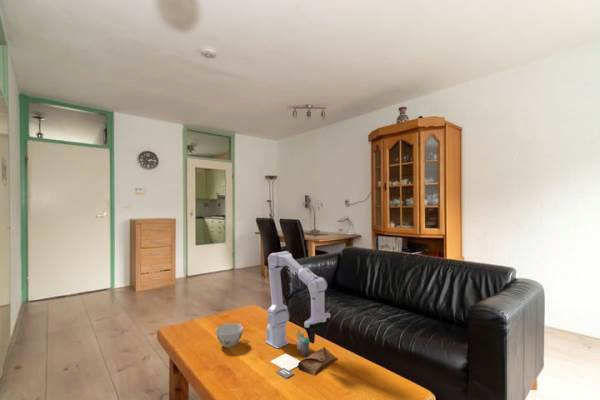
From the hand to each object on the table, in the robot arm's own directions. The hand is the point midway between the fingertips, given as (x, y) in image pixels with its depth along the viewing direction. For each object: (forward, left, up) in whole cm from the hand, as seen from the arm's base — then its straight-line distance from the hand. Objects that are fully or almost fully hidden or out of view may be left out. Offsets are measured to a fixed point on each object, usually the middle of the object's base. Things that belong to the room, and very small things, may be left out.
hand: (317, 339), depth 125 cm
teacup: (-41, -16, -10) cm, 45 cm away
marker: (-8, +1, -10) cm, 13 cm away
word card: (-4, -15, -10) cm, 19 cm away
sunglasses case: (+1, 0, -10) cm, 10 cm away
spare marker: (-14, +4, -10) cm, 17 cm away
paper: (-10, -9, -10) cm, 17 cm away
